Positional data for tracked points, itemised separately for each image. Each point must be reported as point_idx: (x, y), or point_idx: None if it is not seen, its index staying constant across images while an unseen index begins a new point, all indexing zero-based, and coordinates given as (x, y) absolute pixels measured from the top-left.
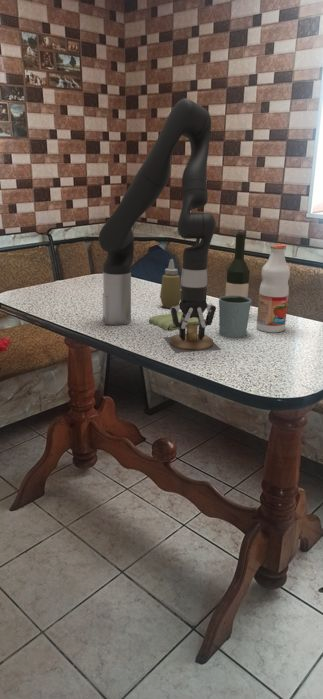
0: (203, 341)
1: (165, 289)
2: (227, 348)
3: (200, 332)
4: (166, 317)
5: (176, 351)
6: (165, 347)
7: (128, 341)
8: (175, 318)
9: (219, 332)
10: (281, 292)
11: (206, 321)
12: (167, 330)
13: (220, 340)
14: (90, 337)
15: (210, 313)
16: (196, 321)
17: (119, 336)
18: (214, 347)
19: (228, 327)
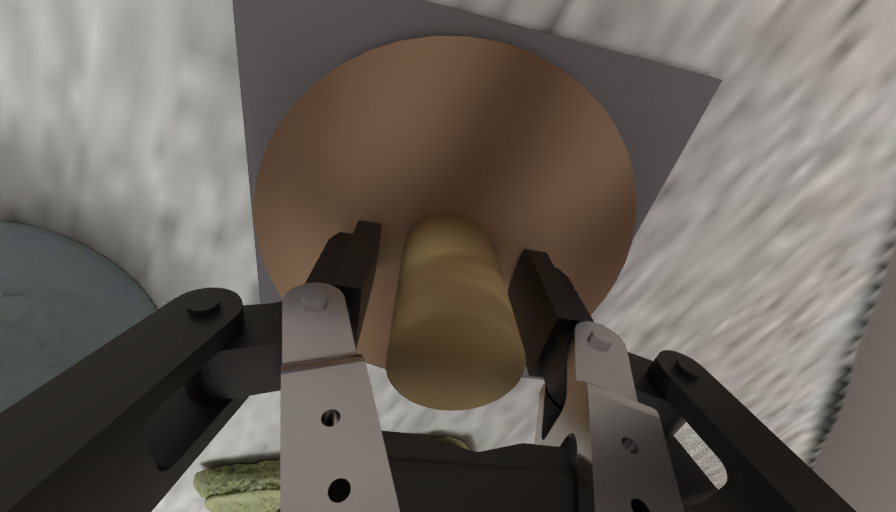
0: (363, 186)
1: None
2: (143, 26)
3: (371, 261)
4: None
5: (691, 102)
6: (641, 254)
7: (732, 391)
8: (793, 470)
9: None
10: None
11: (240, 361)
12: (466, 446)
13: (177, 246)
14: (814, 460)
15: (32, 497)
16: (266, 490)
17: (707, 445)
18: (289, 54)
19: (2, 320)
